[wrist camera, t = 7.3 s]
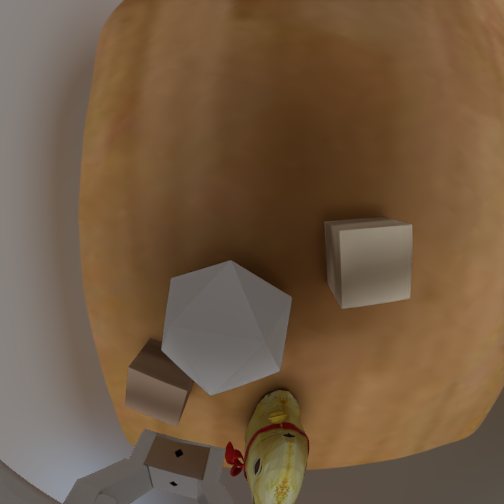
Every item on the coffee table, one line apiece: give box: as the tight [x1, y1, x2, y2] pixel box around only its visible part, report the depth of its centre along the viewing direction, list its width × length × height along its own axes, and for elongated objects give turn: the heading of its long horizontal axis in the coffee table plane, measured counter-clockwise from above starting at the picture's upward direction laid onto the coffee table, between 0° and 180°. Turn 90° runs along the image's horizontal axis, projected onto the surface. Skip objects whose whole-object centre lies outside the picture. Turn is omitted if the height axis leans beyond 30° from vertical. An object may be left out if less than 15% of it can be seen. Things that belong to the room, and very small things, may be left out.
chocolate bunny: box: [225, 390, 309, 504], centre depth 18 cm, size 7×11×15 cm, turn 170°
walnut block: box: [125, 338, 194, 427], centre depth 22 cm, size 5×5×5 cm
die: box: [161, 260, 292, 395], centre depth 19 cm, size 8×9×10 cm
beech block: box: [324, 217, 412, 309], centre depth 19 cm, size 5×5×5 cm
